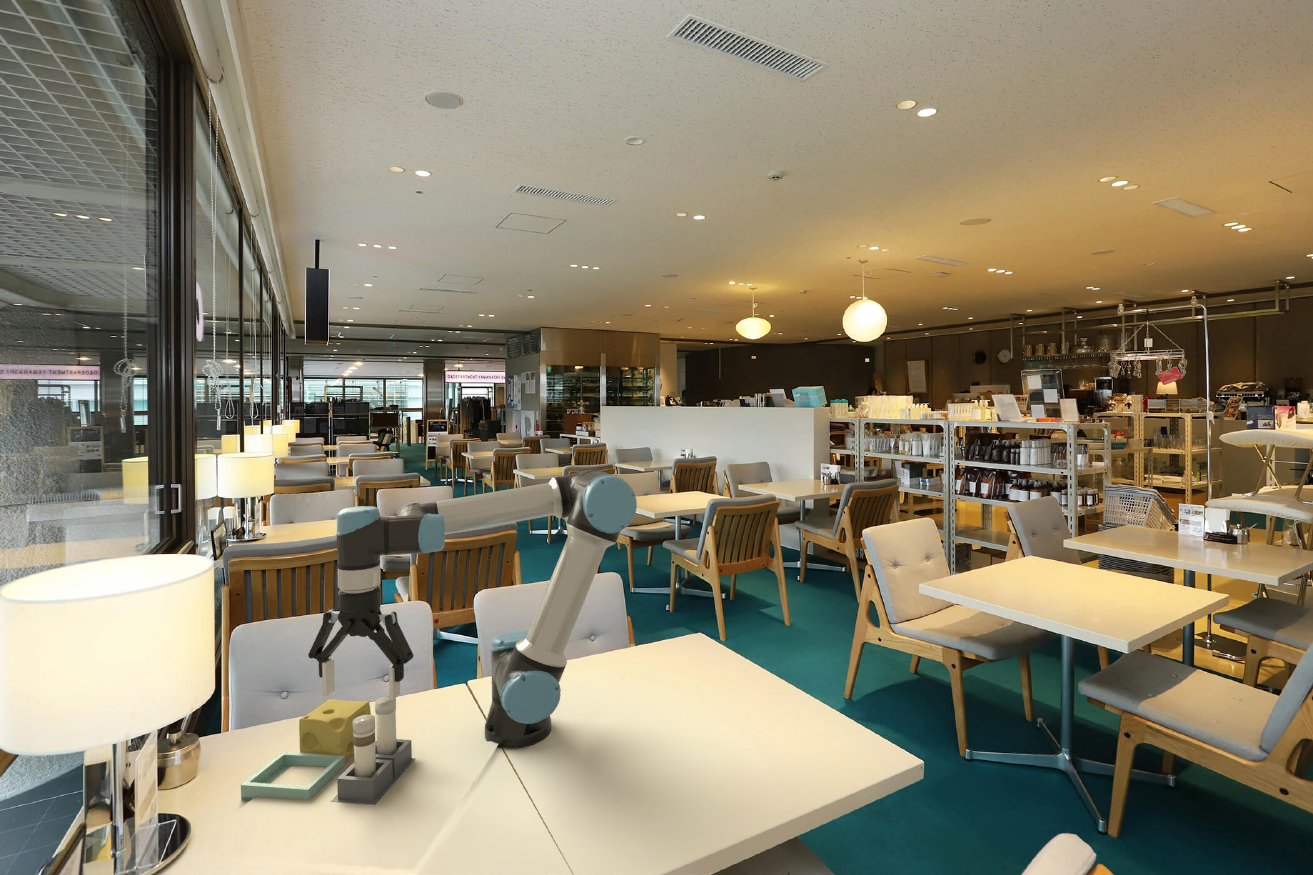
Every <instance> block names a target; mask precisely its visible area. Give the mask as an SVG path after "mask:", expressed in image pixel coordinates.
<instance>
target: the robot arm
mask: <svg viewBox="0 0 1313 875" xmlns="http://www.w3.org/2000/svg"><path fill="white" fill-rule="evenodd" d="M637 504H638V501H637V496H636V493H635V492H634V489H633V488H632V487H631V485H630V484H629V483H628V482H627V481H625V480H624V479H623V478H622V477H620V476H618V475H615V474H612V473H609V472H606V471H604V470H603V471H602V470H599V469H589V470H583V471H580V472H575V473H574V472H573V473H571V474H570V473H569V474H566V475H560V476H554V477H551V479H550V480H549V481H548V482H546V483H539V484H533V485H528V486H522V487H516V488H511V489H510V488H509V489H505V490H496V491H493V492H492V491H491V492H486V493H479V494H474V495H468V496H467V495H466V496H462V497H455V498H449V499H444V500H438V501H432V502H425V503H418V502H410V503H408V504H405V505H403V506H402V507H401V508H400V509H398V511H397V512H396V514H395V516H383V515H381V512H380V509H379V508H378V507H377V506H370V505H368V506H365V505H364V506H363V505H361V506H360V505H359V506H350V507H345V508H343V509H341V510H339V512H338V513H337V516H336V519H337V520H336V533H335V535H336V555H337V557H336V559H337V588H338V589H339V591H337V599H338V600H337V602H338V604H337V605H338V610H339V611H337V610H336V609H335V608H332V609H329V610H328V611H326V612H324V613H323V614H322V615H323V616H322V624H321V626H320V628H319V630H318V633H317V635H316V637H315V639H314V641H313V644H312V645H311V648H310V650H309V652H308V655H307V656H308V658H309V659H310V660H311V659H314V660H316V661H317V662H318V675H319V678H321V679H322V697H328V696H329V695H331V693H333V692H334V691H335V690H336V682H335V681H336V680H335V679H336V678H335V676H336V674H335V657H331V656H333V653H334V652H335V651H336V650H337V648H338V647H339V646H340V645H341V644H342V642H344V640H345V638H347V636H348V635H349V637H360V638H366V637H368V639H369V640H371V641H374V643H375V644H376V645H377V647H378V648H379V650H380V651H382V653H383V654H384V655H385V657H386V658H387V659H388V661H389V662H390V664H391V665H389V667H388V692H389V693H388V696H389V700H394V699H395V698H398V696H400V695H401V681H403V679H404V677H405V664H407V663H409V662H410V661H411V660H412V659H414V656H415V655H414V653H413V651H412V649H411V646H410V645H409V642H408V641H407V639H406V637H405V634H404V633H403V631H402V628H401V626H400V624H399V622H398V613H397V612H396V611H391V612H390V613H382V611H381V604H382V588H381V586H379V585H380V584H381V557H383V556H396V555H398V556H399V555H410V554H411V555H412V554H429V553H434V552H440V551H443V549H444V548H445V542H446V540H445V539H446V538H445V537H446V535H451V534H456V533H457V534H458V533H462V532H467V531H472V530H474V531H475V530H478V529H483V528H484V529H485V528H488V527H490V528H491V527H493V526H494V527H496V526H499V525H507V524H512V523H518V522H523V521H528V520H534V519H539V518H545V517H550V516H555V517H556V518H558V519H565V518H567V520H566V523H565V524H566V527H567V530H568V536H567V537H566V541H565V542H564V543H565V544H564V545H563V548H562V551H561V553H560V555H559V559H558V560H557V562H556V565H555V568H554V570H553V573H552V575H551V577H550V579H549V582H548V585H547V587H546V589H545V592H544V594H543V596H542V599H541V601H540V603H539V606H538V609H537V611H536V612H535V613H536V614H535V616H534V618H533V621H532V623H531V626H530V627H529V629H528V630H521V631H520V630H519V631H510V632H506V633H502V634H499V635H496V636H495V637H494V638H493V639H492V640H491V644H490V651H489V652H490V656H491V657H490V658H491V662H490V663H491V703H490V707H489V711H488V714H487V717H486V719H485V722H484V739H485V740H486V742H491V743H495V744H497V748H500V749H501V748H502V749H521V748H526V747H530V746H534V745H536V744H539V743H540V742H542V741H544V740H545V739H546V738H547V737H548V736H549V735H550V733H551V731H552V718H551V715H552V714H553V713H554V712H555V710H556V709H557V707H558V706H559V703H560V700H561V691H562V690H561V686H560V681H561V679H562V676H563V674H564V672H565V668H566V666H567V664H568V661H567V658H566V656H565V653H564V652H565V650H566V647H567V646H568V642H569V640H570V638H571V635H572V633H573V630H574V628H575V625H576V623H577V621H578V619H579V615H580V613H581V611H582V609H583V606H584V603H585V601H586V598H587V596H588V593H589V591H590V588H591V587H592V583H593V581H594V579H595V576H596V574H597V571H598V569H599V566H600V564H601V562H602V560H603V557H604V555H605V552H606V550H607V549H608V548H609V547H612V546H613V545H616V544H617V542H618V538H619V536H620V534H621V532H622V530H624V529H627V528H628V526H630V524H631V523H632V521H633V520H634V518H635V517H636V513H637V508H638V506H637ZM337 621H338V622H339V624H340V625H341V627H340V628H339V630H338V631H337V632H336V633H335V635H334V637H333V638H332V639H331V640H330V642H328V644H327V645H326V643H327V641H328V639H329V637H330V635H331V632H332V630H333V629H334V626H335V624H336V622H337ZM381 622H382V625H383V626H385V628H384V627H383V626H382V625H381ZM385 629H386V631H387V633H386V632H385ZM375 631H376V632H375ZM387 634H388V635H387ZM325 646H326V647H325Z"/></svg>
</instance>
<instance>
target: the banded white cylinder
mask: <svg viewBox="0 0 1313 875" xmlns="http://www.w3.org/2000/svg"><path fill="white" fill-rule="evenodd" d="M353 733H354V734H353V741H354V753H353V755H354V758H353V760H354V762H353V763H354V764H355V777H368V778H371V777H372V776H373V775H374V774H375V773H376V752H375V742H376V715H373V714H371V715H362V716H359V717H357V718H355V719H354V720H353Z"/></svg>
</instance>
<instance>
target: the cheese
mask: <svg viewBox="0 0 1313 875" xmlns="http://www.w3.org/2000/svg"><path fill="white" fill-rule="evenodd" d="M362 715H372V713H371V705H370V701H366V700H359V701H358V700H357V701H356V700H354V701H353V700H340V699H334V698H333V699H331V698H330V699H328V700H326V701H325V702H324V703H322V704H321V705H318V706H317V707H316V708H315V709H313V710H312V711H310V712H309V713H307V714H306V715H304V716H302V717H300V718H299V721H298V722H299V723H298V725H299V726H298V732H299V753H311V754H327V755H342V756H345V762H346V761H347V760H348V759H349V758H350V757H351V756H352V755H354V741H353V734H354V733H353V720H354V719H355V718H357V717H359V716H362Z"/></svg>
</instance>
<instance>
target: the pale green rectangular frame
mask: <svg viewBox="0 0 1313 875" xmlns="http://www.w3.org/2000/svg"><path fill="white" fill-rule="evenodd" d="M294 765H295V766H306V767H307V766H311V767H325V769H324V770H322V772H320V773H319V774H318V775H317V776H316V777H315V778H314V779H313V780H311V781H310V782H309V783H308V784H307V785H306V786H305V785H295V784H279V783H273V782H274V781H276V780H277V779H278V778H279V777H280V776H282V775H283V774H284V773H285V772H286V771H288V770H289V769H290V768H291V767H292V766H294ZM345 766H346V761H345V756H342V755H327V754H311V753H300V752H293V751H281V752H280V753H279V754H278V755H277V756H275V757H274V758H273V759H272V760H270V761H269V762H268V763H267V764H265V765H264V766H262V767H261V768H260V769H259V770H258V771H256V772H255V773H254V774H253V775H251V776H250V777H249V778H248V779H247V780H245V781H244V782H242V783H241V784H240V798H241V801H252V800H253V799H254V798H255V797H260V798H263V797H264V798H275V799H291V800H301V801H302V800H303V801H304V800H305V801H310V800H311V798H313V796H315V795H316V794H317V793H318V792H319V791H320V790H321V789H322V788H323V787H324V786H325V785H326V784H327V783H328V782H329V781H330V780H331V779H333V777H335V775H336V774H338V773H339V772H340V771H341V770H342V769H343V768H344V767H345Z"/></svg>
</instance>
